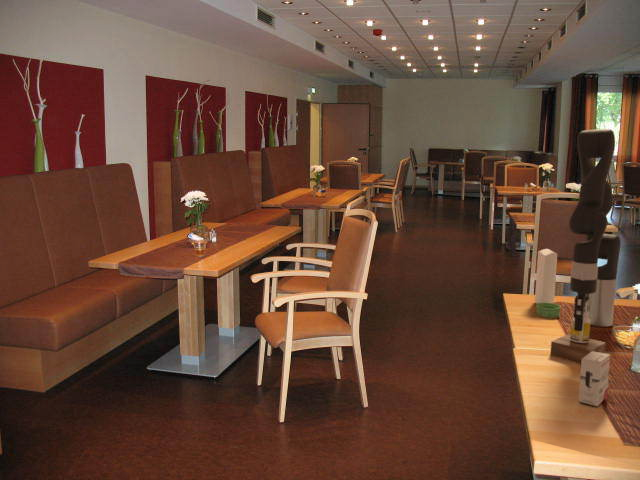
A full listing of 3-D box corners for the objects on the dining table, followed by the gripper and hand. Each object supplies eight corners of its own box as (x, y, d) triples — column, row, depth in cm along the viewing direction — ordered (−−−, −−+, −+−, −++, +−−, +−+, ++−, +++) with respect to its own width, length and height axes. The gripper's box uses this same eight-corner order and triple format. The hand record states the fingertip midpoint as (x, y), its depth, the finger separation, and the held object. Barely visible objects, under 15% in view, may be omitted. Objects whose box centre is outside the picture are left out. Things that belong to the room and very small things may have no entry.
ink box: (588, 391, 172) (591, 349, 170) (607, 396, 169) (611, 354, 167) (577, 401, 166) (581, 358, 164) (597, 407, 162) (601, 362, 161)
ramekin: (532, 317, 243) (533, 306, 242) (538, 312, 251) (539, 301, 250) (557, 321, 238) (558, 309, 238) (562, 315, 246) (563, 304, 245)
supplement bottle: (587, 340, 202) (591, 309, 200) (589, 344, 197) (592, 313, 195) (569, 337, 203) (572, 307, 202) (570, 342, 198) (574, 311, 197)
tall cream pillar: (531, 308, 256) (535, 249, 252) (534, 304, 262) (538, 246, 258) (551, 310, 252) (555, 251, 248) (553, 306, 258) (558, 248, 255)
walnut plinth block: (567, 348, 209) (568, 333, 208) (604, 357, 200) (606, 342, 200) (550, 356, 201) (551, 341, 200) (588, 366, 192) (589, 350, 191)
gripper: (574, 270, 204) (570, 319, 207) (567, 279, 192) (563, 331, 195) (599, 273, 201) (595, 323, 203) (594, 282, 188) (590, 335, 191)
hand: (579, 327), depth 199 cm, fingers open, 8 cm apart
